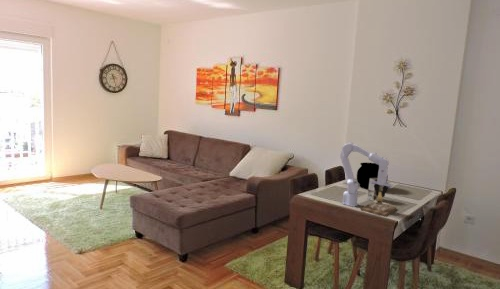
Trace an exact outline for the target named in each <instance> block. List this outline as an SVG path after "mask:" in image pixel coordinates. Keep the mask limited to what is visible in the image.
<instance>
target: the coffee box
mask: <svg viewBox="0 0 500 289" xmlns="http://www.w3.org/2000/svg"><path fill="white" fill-rule="evenodd" d="M377 180H378V178H370V181H369V189H367V190H368V191H367V199H368V200H369V201H371V202H373V201H375V200H376V201H377V197H378V196H376V191H375V188H374V185H375V184H371V181H377ZM382 187H383V186H380V188H379V190H382V191H383V189H382Z"/></svg>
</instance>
